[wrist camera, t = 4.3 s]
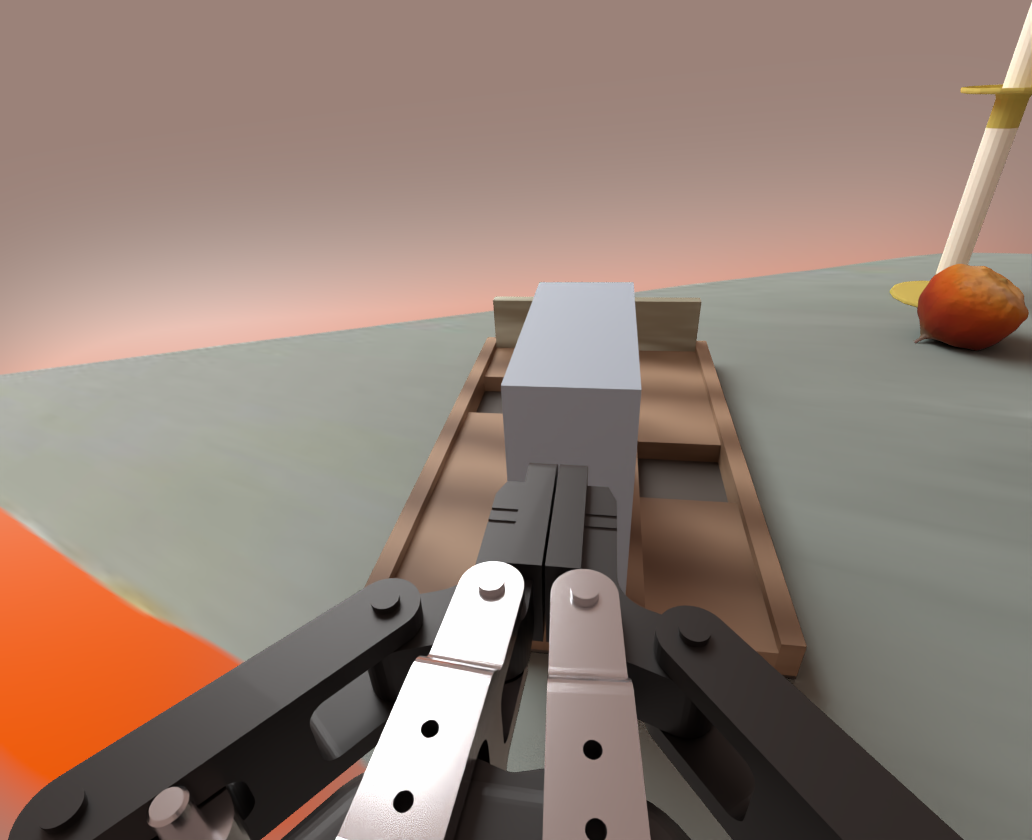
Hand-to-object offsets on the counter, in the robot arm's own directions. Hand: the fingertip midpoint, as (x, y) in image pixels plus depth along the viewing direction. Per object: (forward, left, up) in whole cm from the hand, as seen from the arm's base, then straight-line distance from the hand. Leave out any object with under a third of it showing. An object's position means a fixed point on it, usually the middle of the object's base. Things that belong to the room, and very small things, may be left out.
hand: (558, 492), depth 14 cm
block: (-9, -8, -12) cm, 18 cm away
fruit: (-55, -3, -14) cm, 57 cm away
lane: (-16, -14, -14) cm, 26 cm away
